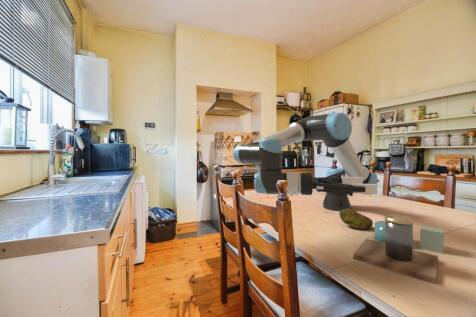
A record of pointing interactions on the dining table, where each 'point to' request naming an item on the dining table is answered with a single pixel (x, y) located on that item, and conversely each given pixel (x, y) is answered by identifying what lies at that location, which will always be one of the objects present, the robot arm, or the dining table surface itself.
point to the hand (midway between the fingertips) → (369, 184)
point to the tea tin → (399, 237)
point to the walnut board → (418, 267)
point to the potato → (355, 219)
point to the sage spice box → (431, 238)
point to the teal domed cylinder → (380, 231)
